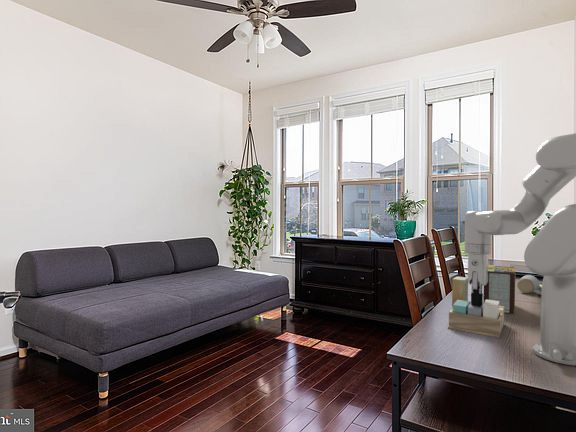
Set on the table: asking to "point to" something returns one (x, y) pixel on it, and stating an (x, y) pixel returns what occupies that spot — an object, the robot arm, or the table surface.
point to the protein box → (501, 287)
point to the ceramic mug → (529, 284)
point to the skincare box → (459, 289)
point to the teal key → (461, 307)
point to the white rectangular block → (491, 309)
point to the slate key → (475, 310)
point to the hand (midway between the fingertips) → (476, 305)
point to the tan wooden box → (477, 323)
